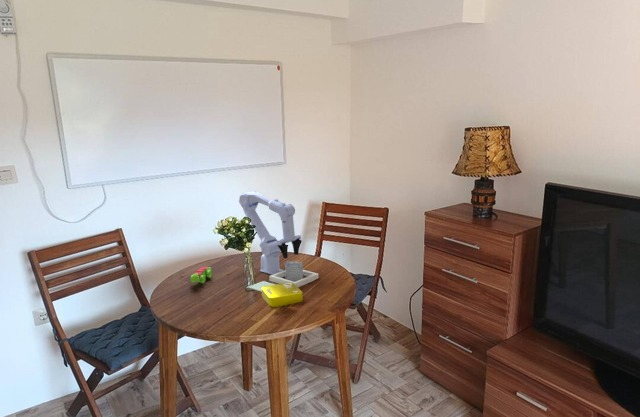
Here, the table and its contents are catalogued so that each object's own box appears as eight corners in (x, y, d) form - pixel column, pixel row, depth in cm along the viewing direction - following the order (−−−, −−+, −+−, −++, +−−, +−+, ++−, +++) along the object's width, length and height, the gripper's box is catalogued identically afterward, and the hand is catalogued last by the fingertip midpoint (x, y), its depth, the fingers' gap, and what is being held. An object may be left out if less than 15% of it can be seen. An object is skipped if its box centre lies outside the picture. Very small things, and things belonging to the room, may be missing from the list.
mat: (247, 287, 202) (247, 286, 202) (263, 281, 210) (263, 280, 210) (262, 292, 196) (262, 291, 196) (278, 286, 203) (278, 285, 203)
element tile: (260, 295, 193) (260, 285, 192) (292, 290, 199) (292, 280, 198) (270, 308, 179) (270, 297, 179) (304, 302, 185) (303, 291, 184)
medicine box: (303, 278, 213) (302, 262, 211) (300, 281, 209) (300, 264, 207) (287, 277, 215) (287, 261, 213) (285, 280, 210) (284, 263, 209)
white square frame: (269, 280, 211) (269, 276, 210) (293, 271, 223) (292, 267, 223) (295, 288, 200) (295, 283, 200) (318, 278, 213) (318, 273, 212)
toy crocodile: (203, 273, 224) (202, 261, 223) (215, 273, 223) (214, 262, 222) (186, 286, 205) (185, 274, 204) (200, 287, 204) (199, 274, 203)
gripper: (283, 232, 205) (286, 260, 207) (304, 227, 216) (306, 253, 217) (273, 231, 210) (276, 259, 211) (294, 226, 220) (296, 252, 222)
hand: (290, 256), depth 215 cm, fingers open, 7 cm apart
